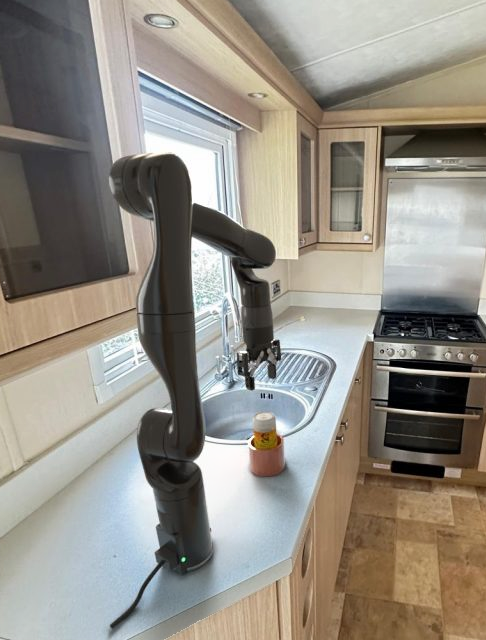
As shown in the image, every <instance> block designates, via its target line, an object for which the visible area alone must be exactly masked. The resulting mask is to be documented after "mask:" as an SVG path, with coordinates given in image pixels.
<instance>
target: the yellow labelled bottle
mask: <svg viewBox="0 0 486 640" xmlns="http://www.w3.org/2000/svg"><path fill="white" fill-rule="evenodd" d="M252 431H253V436H254V442H255V448H256V449H260V450H268V449H272V448H275V447H277V434H278V433H277V419H276V416H275V414H274V412H271V411H268V410H265V411H259V412H256V413H255V414H254V415H253V418H252Z"/></svg>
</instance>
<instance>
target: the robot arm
mask: <svg viewBox="0 0 486 640" xmlns="http://www.w3.org/2000/svg"><path fill="white" fill-rule="evenodd" d="M108 187H109V190H110V193H111V195H112V197H113V199H114V200H115V202H116V203H117V205H118V206H119V207H120V208H121V209H122V210H123V211H125V212H126V213H128V214H129V215H132V216H134V217H137V218H141V219H143V220H147V221H150V222H153V231H154V232H153V233H154V234H153V235H154V237H153V238H154V239H153V240H154V243H153V250H152V251H153V252H152V255H151V259H150V261H149V264H148V267H147V268H146V271H145V272H144V276H143V278H142V280H141V282H140V285H139V287H138V290H137V294H136V298H135V312H136V313H135V314H136V315H135V316H136V324H137V325H136V326H137V333H138V334H137V335H138V340H139V343H140V345H141V348H142V350H143V352H144V354H145V355H146V357H147V359H148V360H149V361H150V364H151V365H152V367H154V369H155V371H156V372H157V373H158V376H160V379H161V380H162V381H163V384H164V387H165V388H166V391H167V394H168V398H169V401H170V403H169V404H170V407H169V408H168V407H153V408H150V409H149V410H146V411H145V412H144V414H143V415H142V416H141V418H140V419H139V422H138V424H137V428H136V446H137V450H138V455H139V459H140V462H141V466H142V469H143V473H144V477H145V480H146V482H147V484H148V485H149V487H151V488H152V489H151V490H152V493H153V496H154V497H153V498H154V502H155V508H156V514H157V517H158V524H156V526H155V533H156V536H157V537H156V538H157V541H158V546H159V547H158V549H157V550H155V551H154V557H155V562H156V563H157V564H156V565H155V567H154V569H152V571H151V572H150V574H148V576H147V577H146V578H145V580H144V582H143V583H142V585H141V586H140V588H139V590H138V593H137V595H136V597H135V598H134V599H135V600H134V601H133V602H132V604H131V605H130V606H129V607H128V608H127V610H125V611H124V612H123V613H122V614H121V615H120V616H118V617H117V618H116V619H115V620H113V621H112V622H111V623H110V624H109V627H110V629H112V630H113V629H115V628H116V626H118V625H119V624H120V623H121V622H122V621H123V620H125V619H126V618H127V617H129V615H130V614H132V612H134V610H135V609H136V608H137V606H138V605H139V603H140V602H141V600H142V597H143V595H144V592H145V591H146V589H147V587H148V585H149V583H150V582H151V581H152V579H153V578H154V577H155V576H156V574H157V573H158V572H159V571H160V569H161V568H162V567H163V568H165V569H166V570H168V571H169V572H172V571H175V572H176V573H178V574H179V575H181V576H184V575H185V574H186V573H188V572H192V571H195V570H197V569H200V568H201V567H203V566H204V565H206V563H207V562H209V560H211V558H212V556H213V553H214V544H213V539H212V528H211V526H210V518H209V512H208V511H209V510H208V505H207V498H206V497H207V496H206V490H205V483H204V477H203V476H204V475H203V470H202V468H201V467H200V466H199V465H198V464H197V463H196V462H195V461H196V460H198V458H199V457H200V456H201V455H202V452H203V450H204V448H205V443H206V433H207V432H206V419H205V412H204V406H203V400H202V394H201V388H200V378H199V370H198V360H197V359H198V358H197V357H198V356H197V339H196V338H197V337H196V336H197V335H196V334H197V332H196V314H195V313H196V312H195V304H194V303H195V302H194V291H193V269H192V268H193V267H192V263H193V262H192V244H193V243H192V242H193V241H192V240H193V239H195V240H197V241H199V242H201V243H203V244H205V245H206V246H208V247H210V248H212V249H214V250H216V251H217V252H219V253H220V254H222V255H224V256H227V257H229V260H230V264H231V267H232V270H233V273H234V275H235V279H236V281H237V284H238V287H239V293H240V294H239V295H240V304H241V309H240V316H241V319H240V320H241V329H242V340H243V342H244V344H245V347H246V348H245V350H244V351H237V352H236V369H237V371H236V372H237V375H238V376H241V377H244V385H245V389H247V390H248V391H252V392H253V391H254V390H256V384H255V383H256V382H255V376H254V375H255V372H256V370H257V369H258V368H259V366H260V365H261V364H262V363H263V362H266V363H267V365H266V366H267V377H268V379H270V380H275V379H276V378H277V365H278V362H281V361H282V349H281V340H280V339H277V338H274V337H275V335H274V334H275V333H274V318H273V309H272V302H271V301H272V299H271V288H270V282H269V281H268V280H266V279H264V278H261V277H259V276H257V275H256V274H255V272H254V270H266V269H269V268H270V267H272V266H273V264H274V263H275V261H276V258H277V252H276V251H277V250H276V247H275V245H274V243H273V242H272V240H271V239H270V238H268V237H267V236H266V235H264V234H262V233H260V232H257V231H255V230H252V229H250V228H246V227H243V226H242V225H241V224H240V223H239V222H237V221H236V220H235V219H233V218H232V217H230V216H229V215H227V214H225V212H222V211H219V210H217V209H215V208H212V207H209V206H208V205H204V204H202V203H198V202H195V201H194V192H193V191H194V190H193V184H192V179H191V175H190V171H189V169H188V167H187V165H186V164H185V162H184V160H183V159H182V158H181V157H180V156H179V155H177V154H175V153H173V152H170V151H158V152H147V153H139V154H131V155H126V156H123V157H120V158H118V159H117V160H115V161H114V162H113V163H112V165H111V166H110V169H109V172H108ZM192 238H193V239H192Z"/></svg>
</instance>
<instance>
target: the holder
mask: <svg viewBox="0 0 486 640" xmlns="http://www.w3.org/2000/svg"><path fill="white" fill-rule="evenodd" d="M247 448H248V457H249V458H248V460H249V467H250V472H252V474H254V475H256V476H259V477H272V476H275V475H277V474H280V473H281V472H283V470H284V469H285V467H286V457H285V455H286V454H285V439H284V437H283V435H281V434H280V433H277V447H275V448H272V449H268V450H260V449H256V448H255V442H254V435H253V436H251V437H250V438H249V439H248V441H247Z"/></svg>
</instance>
